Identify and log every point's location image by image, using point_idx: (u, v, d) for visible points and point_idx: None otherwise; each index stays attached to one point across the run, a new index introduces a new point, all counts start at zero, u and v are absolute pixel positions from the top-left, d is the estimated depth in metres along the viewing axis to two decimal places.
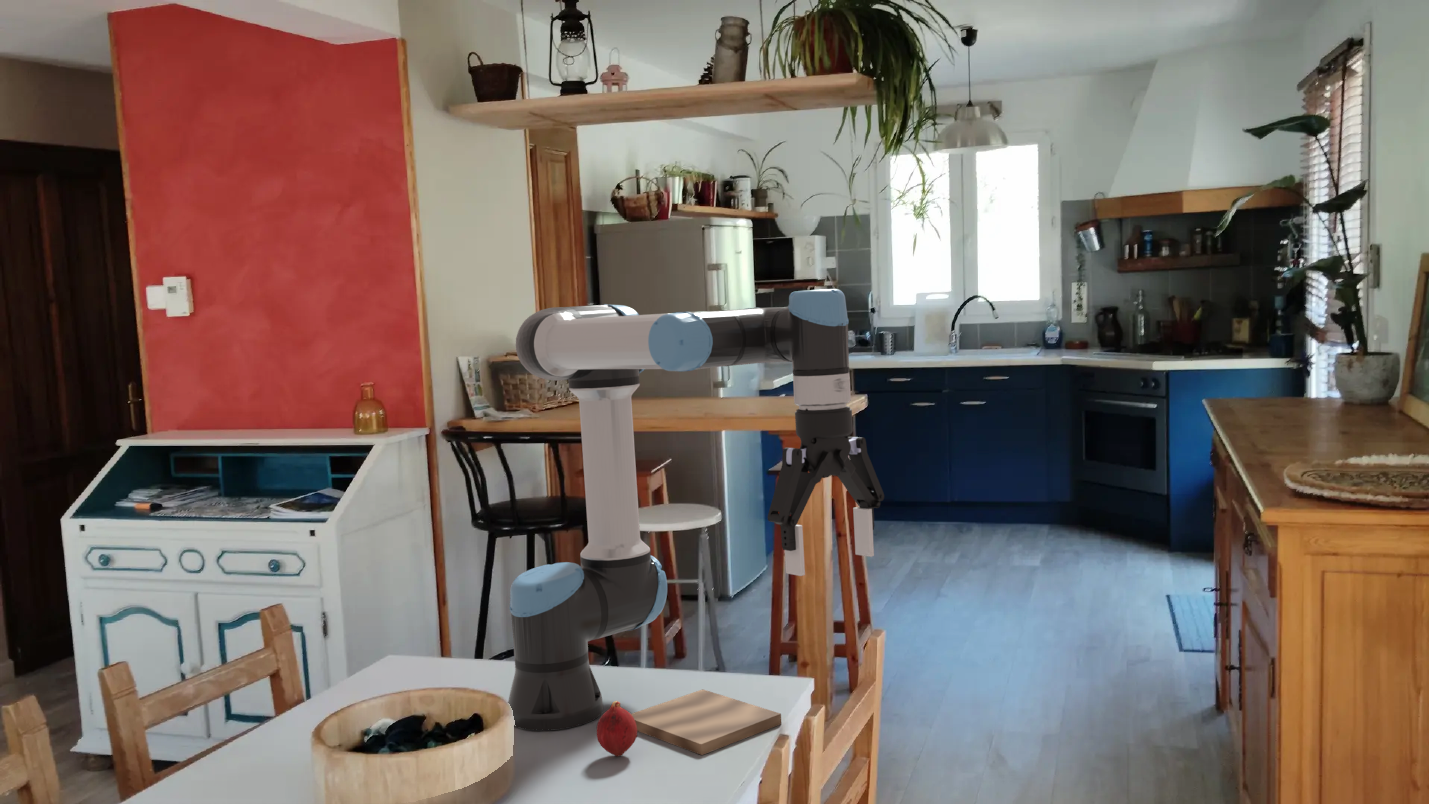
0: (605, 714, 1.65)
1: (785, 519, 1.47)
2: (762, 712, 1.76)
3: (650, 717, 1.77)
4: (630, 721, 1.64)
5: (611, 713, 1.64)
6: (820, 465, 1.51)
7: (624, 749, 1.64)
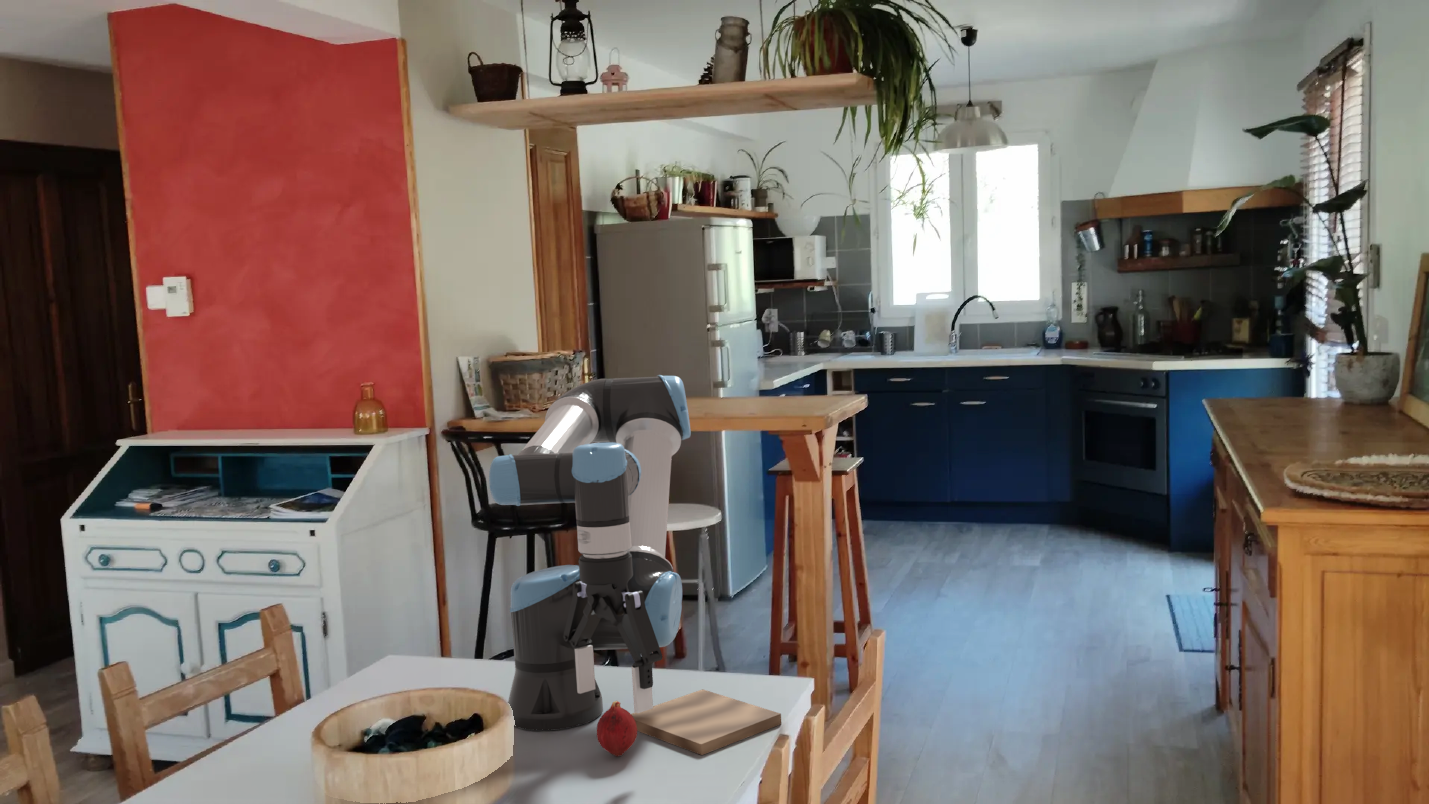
0: (605, 714, 1.65)
1: (565, 638, 1.71)
2: (762, 712, 1.76)
3: (650, 717, 1.77)
4: (630, 721, 1.64)
5: (611, 713, 1.64)
6: (586, 603, 1.65)
7: (624, 749, 1.64)
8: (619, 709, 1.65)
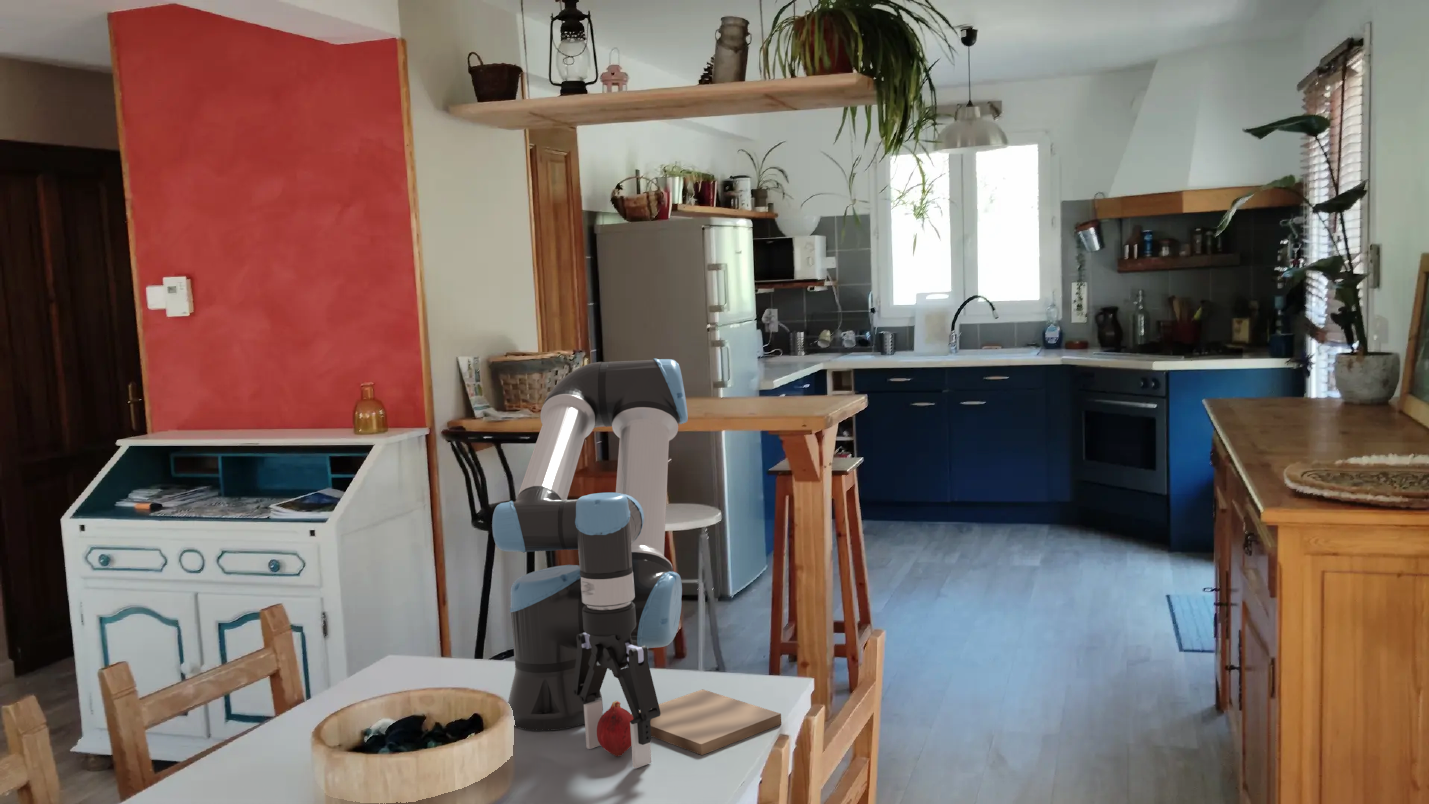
0: (605, 714, 1.65)
1: (574, 692, 1.71)
2: (762, 712, 1.76)
3: None
4: None
5: (611, 713, 1.64)
6: (591, 655, 1.66)
7: (624, 749, 1.64)
8: (619, 709, 1.65)
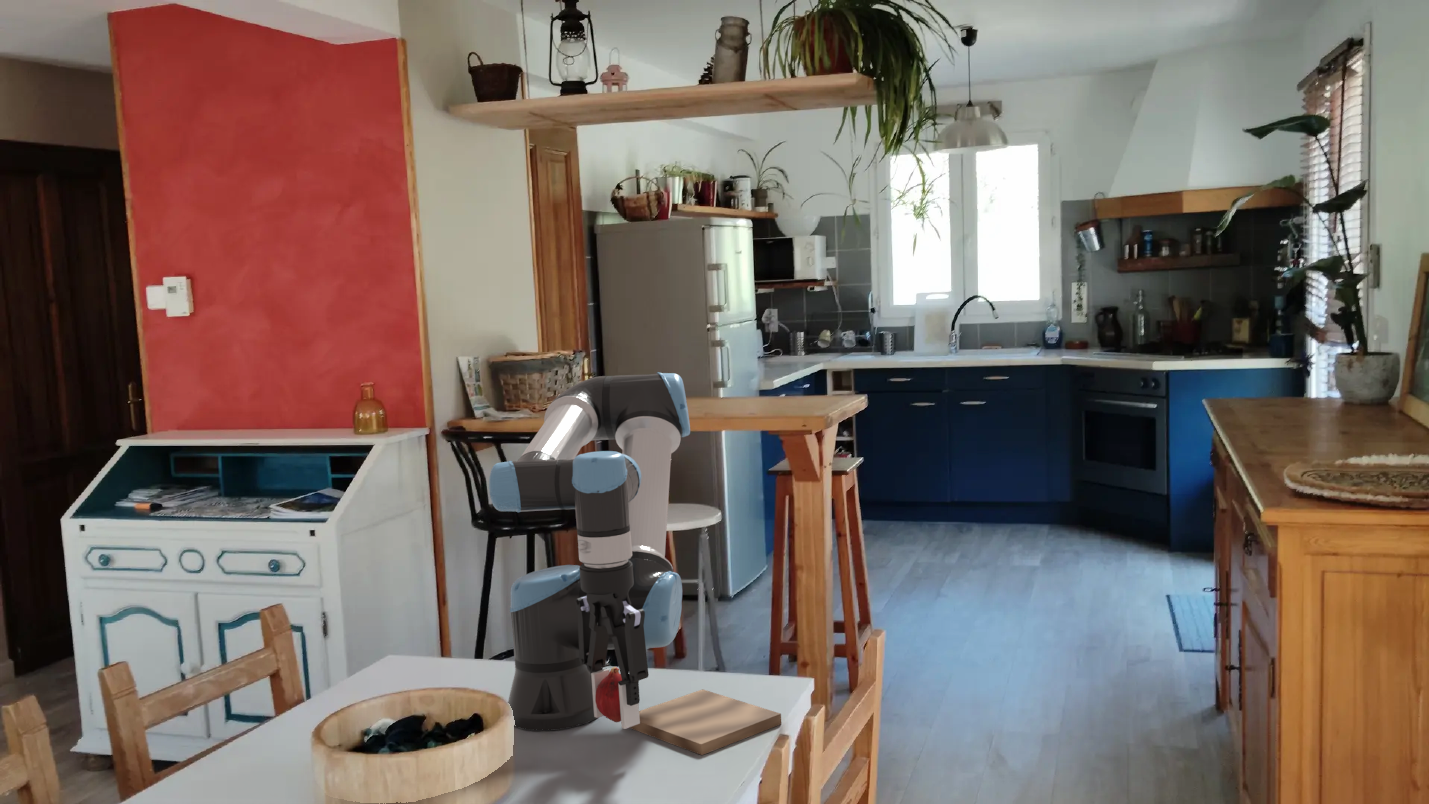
0: (604, 680, 1.65)
1: (582, 661, 1.69)
2: (762, 712, 1.76)
3: (650, 717, 1.77)
4: None
5: (610, 679, 1.64)
6: (590, 616, 1.65)
7: None
8: (618, 675, 1.65)
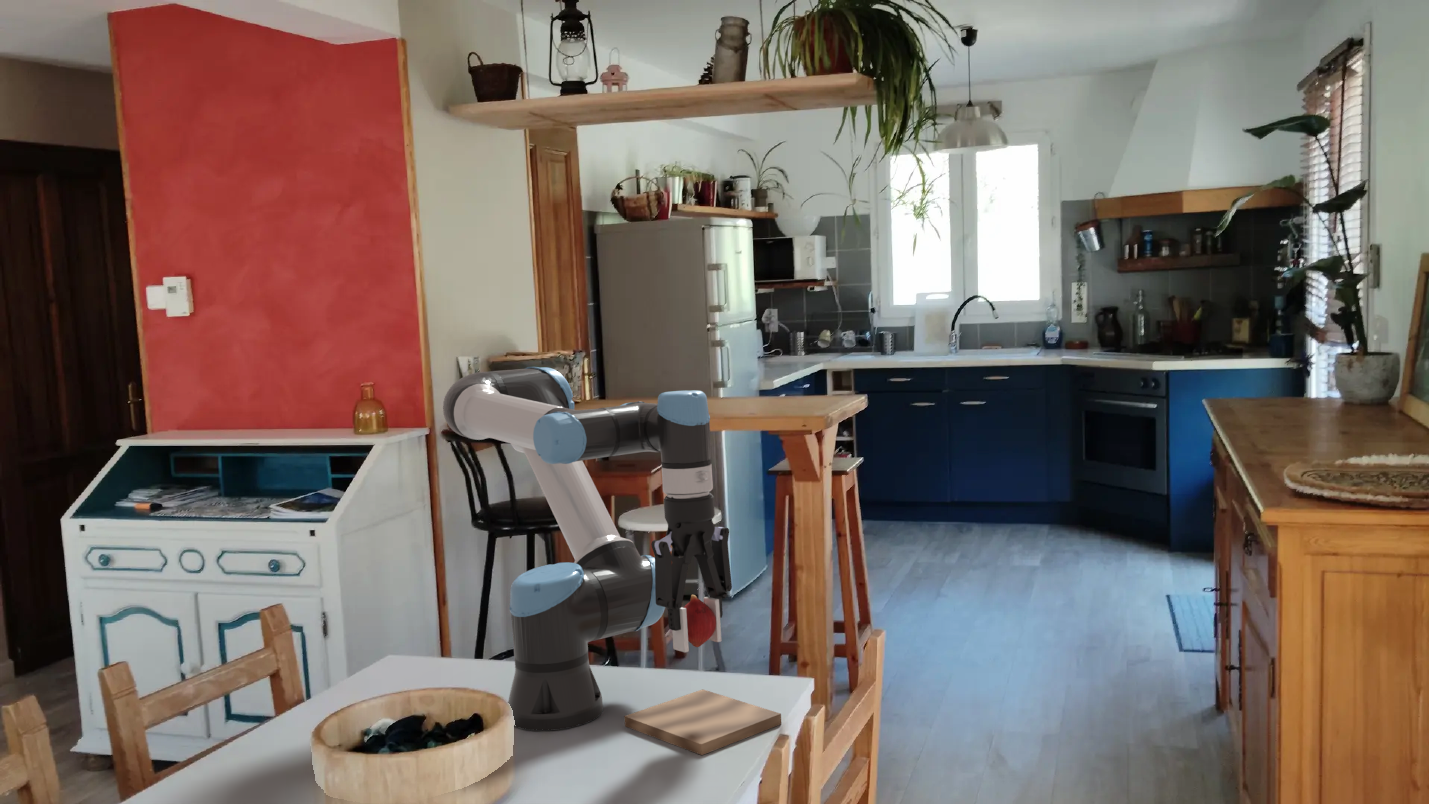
0: (699, 606, 1.74)
1: (670, 603, 1.70)
2: (762, 712, 1.76)
3: (650, 717, 1.77)
4: None
5: (703, 603, 1.75)
6: (686, 550, 1.72)
7: None
8: None
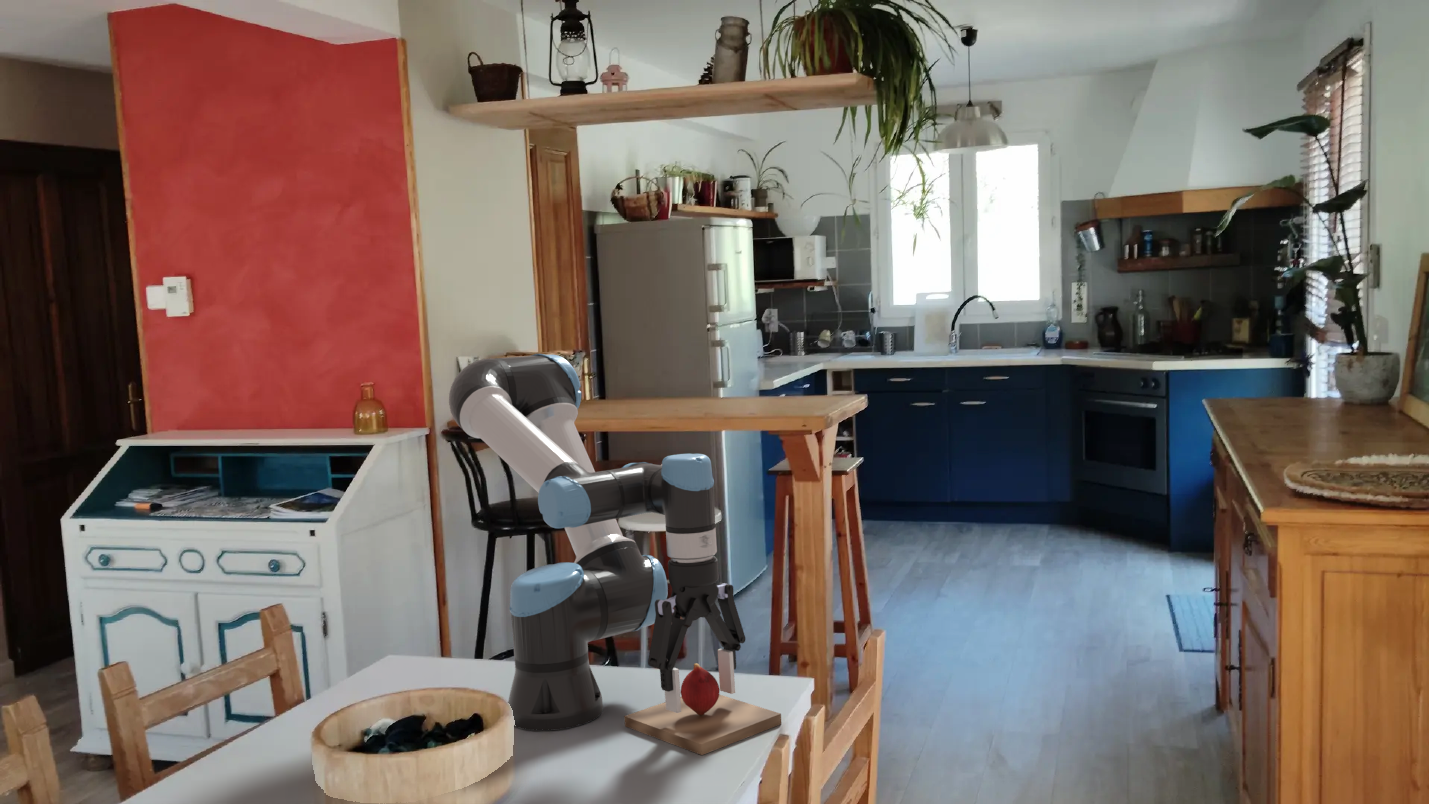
0: (702, 676, 1.75)
1: (662, 665, 1.69)
2: (762, 712, 1.76)
3: (650, 717, 1.77)
4: None
5: (706, 671, 1.75)
6: (688, 612, 1.72)
7: None
8: None
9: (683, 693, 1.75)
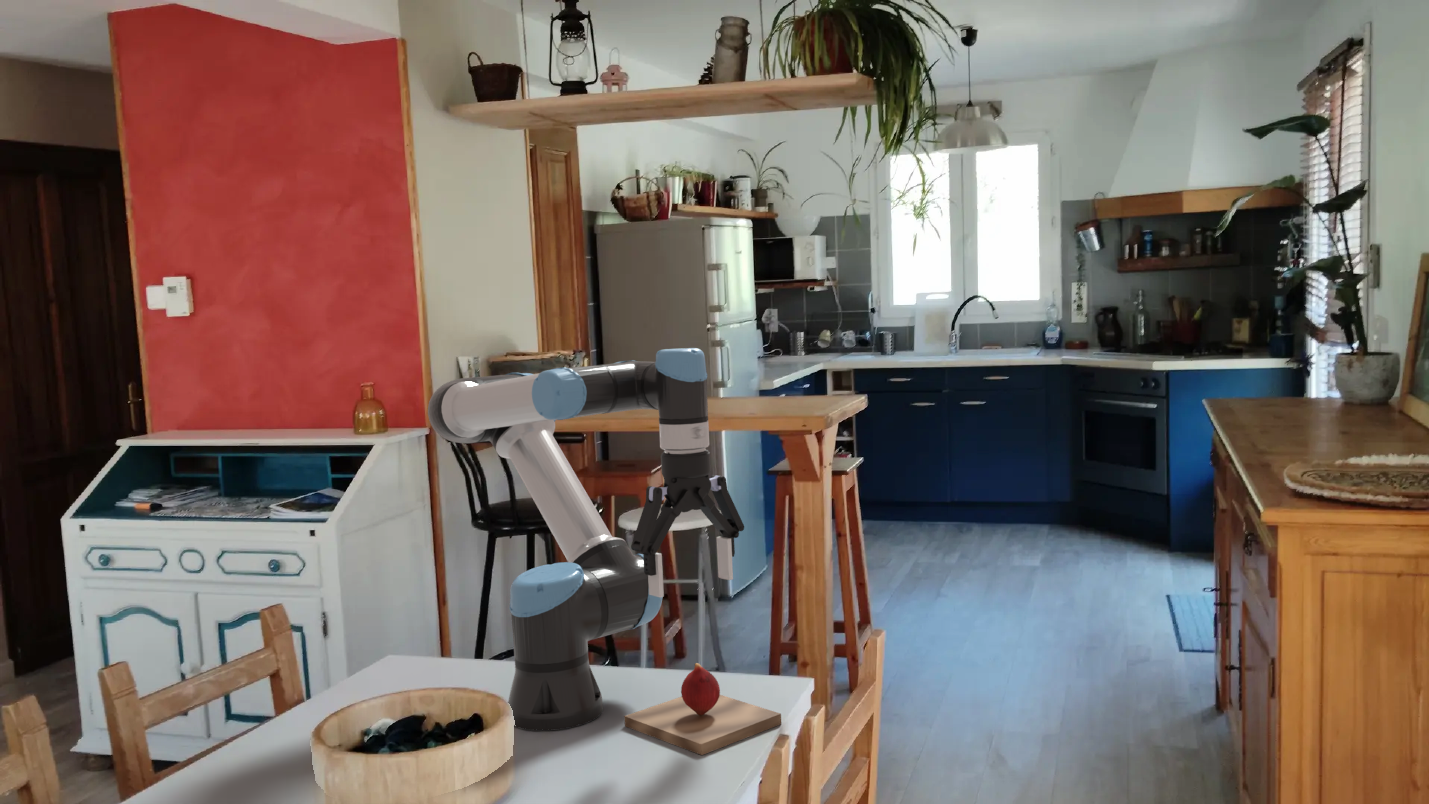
0: (703, 675, 1.75)
1: (645, 549, 1.71)
2: (762, 712, 1.76)
3: (650, 717, 1.77)
4: None
5: (706, 671, 1.76)
6: (679, 501, 1.74)
7: None
8: None
9: (683, 693, 1.75)
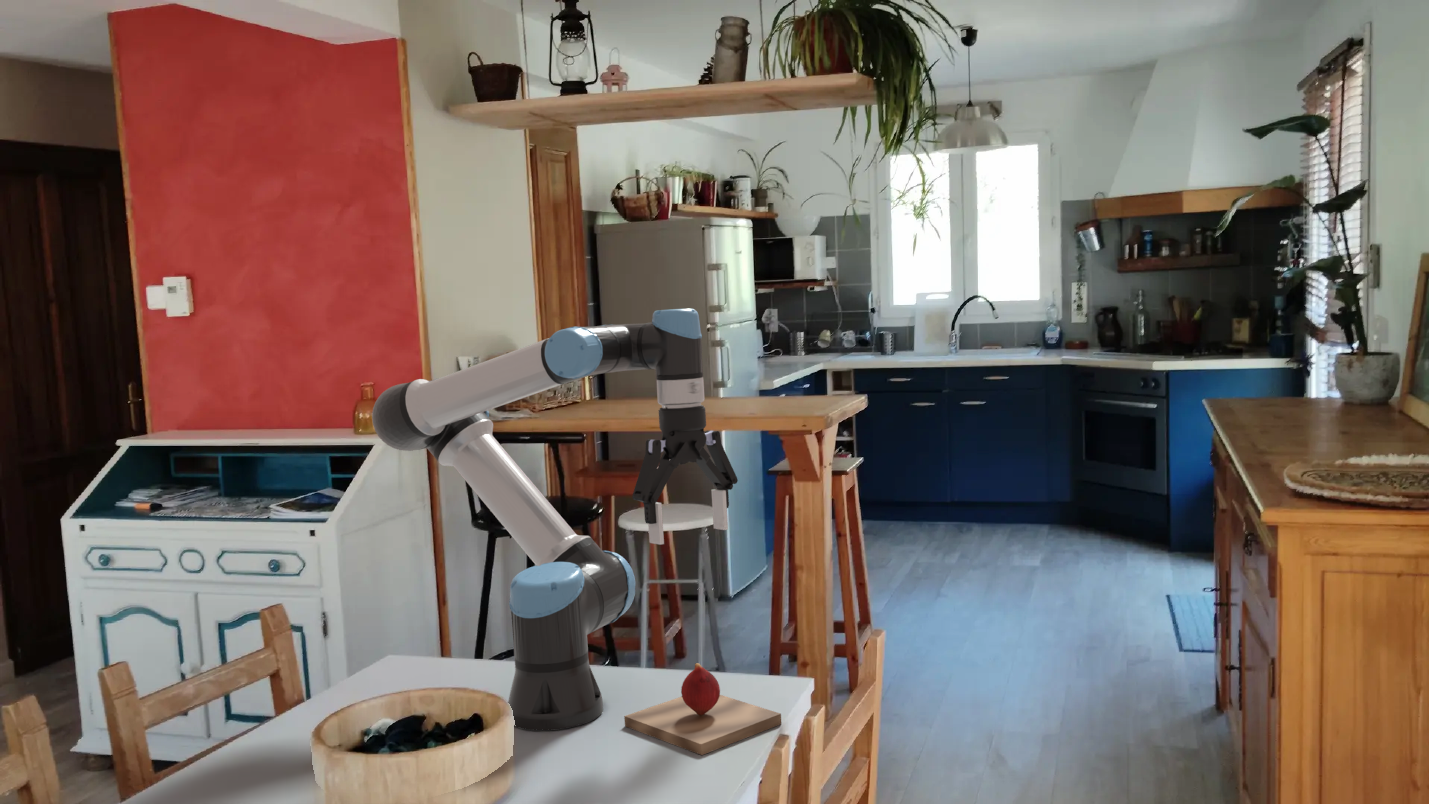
0: (703, 675, 1.75)
1: (646, 497, 1.80)
2: (762, 712, 1.76)
3: (650, 717, 1.77)
4: None
5: (707, 671, 1.76)
6: (677, 453, 1.83)
7: None
8: None
9: (684, 692, 1.75)
